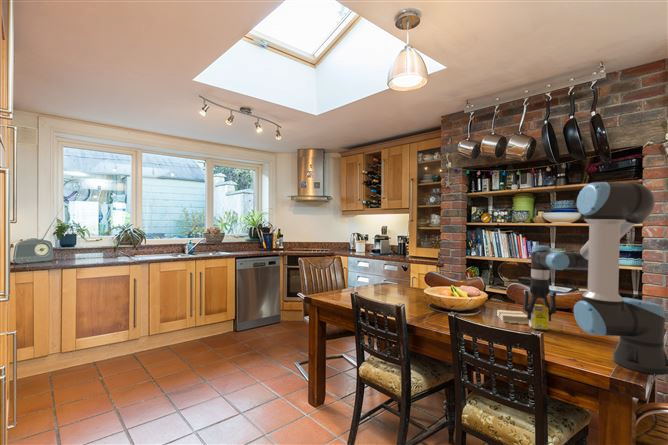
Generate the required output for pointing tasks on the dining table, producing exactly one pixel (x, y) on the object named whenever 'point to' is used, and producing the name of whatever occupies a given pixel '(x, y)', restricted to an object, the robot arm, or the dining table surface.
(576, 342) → the dining table surface
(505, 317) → the maple block
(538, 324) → the supplement box
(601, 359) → the dining table surface
